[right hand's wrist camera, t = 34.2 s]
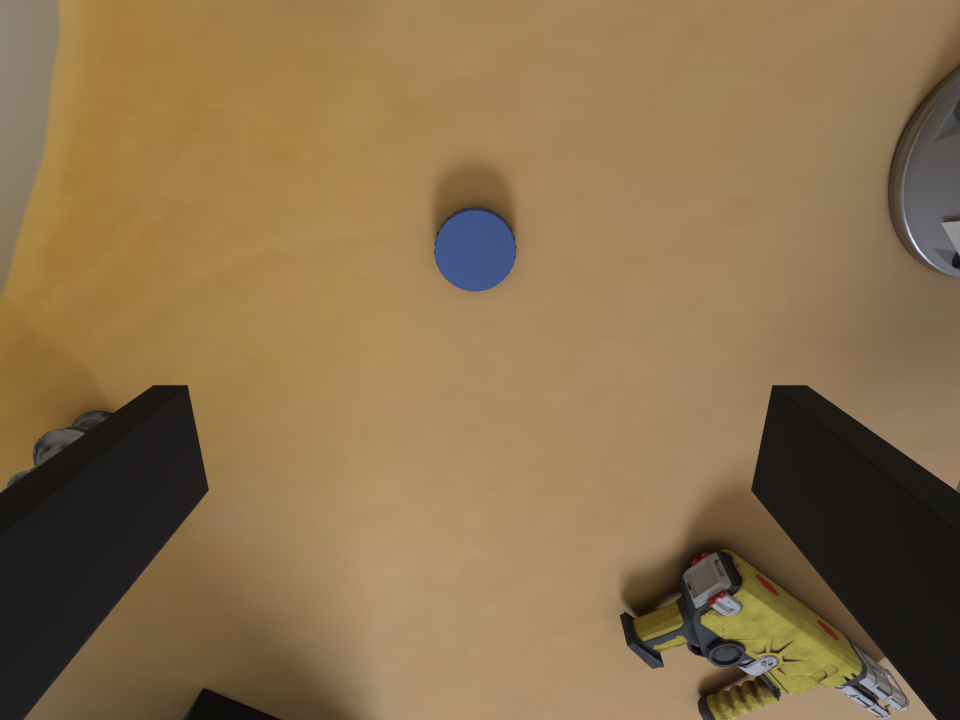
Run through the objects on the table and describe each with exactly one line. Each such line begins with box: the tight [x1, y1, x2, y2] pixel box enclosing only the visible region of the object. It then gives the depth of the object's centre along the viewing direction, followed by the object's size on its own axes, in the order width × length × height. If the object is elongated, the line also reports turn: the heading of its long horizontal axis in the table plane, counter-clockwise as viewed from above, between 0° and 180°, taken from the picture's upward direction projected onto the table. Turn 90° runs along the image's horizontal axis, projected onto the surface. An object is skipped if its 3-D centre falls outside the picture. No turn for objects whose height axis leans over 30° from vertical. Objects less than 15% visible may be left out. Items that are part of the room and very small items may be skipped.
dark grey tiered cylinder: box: [0, 411, 112, 493], centre depth 38 cm, size 6×6×12 cm
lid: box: [434, 207, 516, 291], centre depth 38 cm, size 6×6×2 cm
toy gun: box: [620, 549, 909, 720], centre depth 49 cm, size 5×24×15 cm
